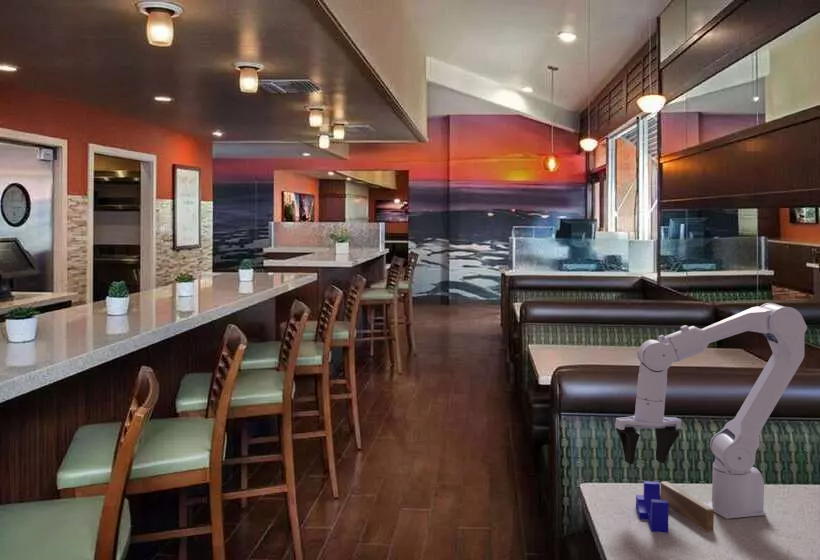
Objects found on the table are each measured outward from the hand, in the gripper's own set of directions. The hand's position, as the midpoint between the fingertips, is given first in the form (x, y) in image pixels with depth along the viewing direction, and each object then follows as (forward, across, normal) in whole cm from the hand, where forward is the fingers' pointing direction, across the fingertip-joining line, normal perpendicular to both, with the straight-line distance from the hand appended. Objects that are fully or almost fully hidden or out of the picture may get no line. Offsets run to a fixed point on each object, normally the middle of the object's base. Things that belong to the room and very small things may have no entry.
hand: (644, 462), depth 150 cm
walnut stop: (+9, -6, +6) cm, 13 cm away
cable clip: (+10, +2, +6) cm, 12 cm away
